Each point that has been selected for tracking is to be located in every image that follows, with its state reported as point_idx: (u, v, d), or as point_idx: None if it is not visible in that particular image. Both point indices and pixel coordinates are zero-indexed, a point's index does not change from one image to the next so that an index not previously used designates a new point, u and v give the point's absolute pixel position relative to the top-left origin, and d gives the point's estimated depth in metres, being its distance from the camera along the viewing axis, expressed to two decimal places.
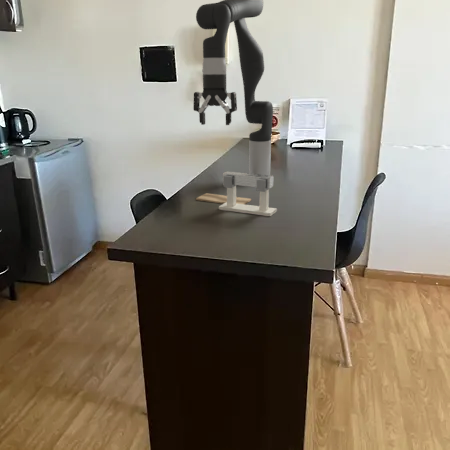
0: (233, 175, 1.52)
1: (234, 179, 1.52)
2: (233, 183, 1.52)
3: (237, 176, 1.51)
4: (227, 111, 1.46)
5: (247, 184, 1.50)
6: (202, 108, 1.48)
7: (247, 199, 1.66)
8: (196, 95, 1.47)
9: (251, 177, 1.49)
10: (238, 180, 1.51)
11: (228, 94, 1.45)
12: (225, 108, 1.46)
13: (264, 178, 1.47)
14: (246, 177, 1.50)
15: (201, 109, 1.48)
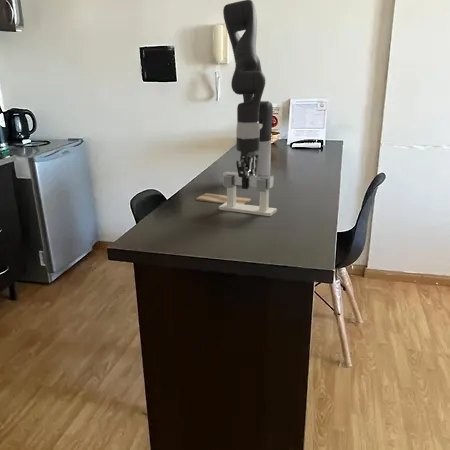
0: (233, 175, 1.52)
1: (234, 179, 1.52)
2: (233, 183, 1.52)
3: (237, 176, 1.51)
4: (253, 173, 1.53)
5: None
6: (248, 172, 1.48)
7: (247, 199, 1.66)
8: (244, 163, 1.44)
9: (251, 177, 1.49)
10: (238, 180, 1.51)
11: (254, 155, 1.53)
12: (253, 170, 1.52)
13: (264, 178, 1.47)
14: None
15: (248, 174, 1.48)
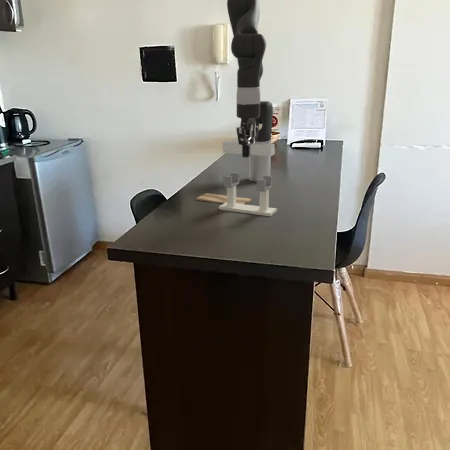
0: (233, 143, 1.48)
1: (234, 148, 1.48)
2: (233, 152, 1.49)
3: (237, 144, 1.48)
4: (254, 141, 1.49)
5: None
6: (249, 140, 1.45)
7: (247, 199, 1.66)
8: (244, 130, 1.41)
9: (252, 145, 1.45)
10: (238, 148, 1.48)
11: None
12: (254, 138, 1.49)
13: (265, 145, 1.44)
14: None
15: (248, 141, 1.45)
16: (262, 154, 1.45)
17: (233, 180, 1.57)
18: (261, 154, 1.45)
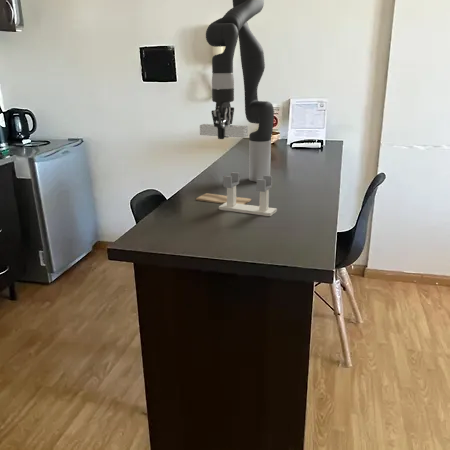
0: (209, 126, 1.59)
1: (211, 130, 1.59)
2: (210, 134, 1.60)
3: (213, 127, 1.58)
4: (229, 124, 1.60)
5: None
6: (223, 123, 1.56)
7: (247, 199, 1.66)
8: (219, 113, 1.52)
9: (226, 127, 1.56)
10: (214, 131, 1.59)
11: (230, 107, 1.60)
12: (229, 121, 1.59)
13: (238, 127, 1.54)
14: None
15: (223, 124, 1.56)
16: (236, 136, 1.56)
17: (233, 180, 1.57)
18: (235, 136, 1.56)
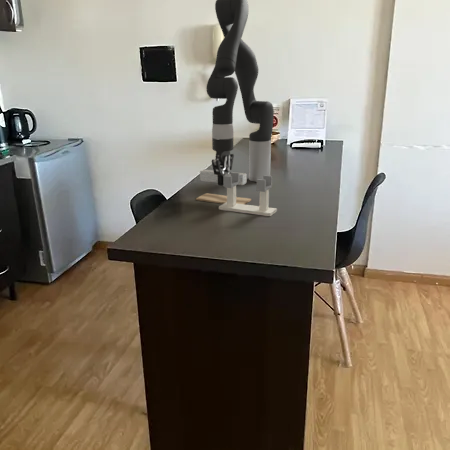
0: (210, 173, 1.64)
1: (211, 176, 1.65)
2: (210, 180, 1.65)
3: (213, 174, 1.64)
4: (229, 171, 1.65)
5: None
6: (223, 170, 1.61)
7: (247, 199, 1.66)
8: (218, 162, 1.57)
9: (226, 174, 1.62)
10: (214, 177, 1.64)
11: (229, 154, 1.66)
12: (228, 168, 1.65)
13: None
14: None
15: (223, 172, 1.61)
16: None
17: (233, 180, 1.57)
18: None
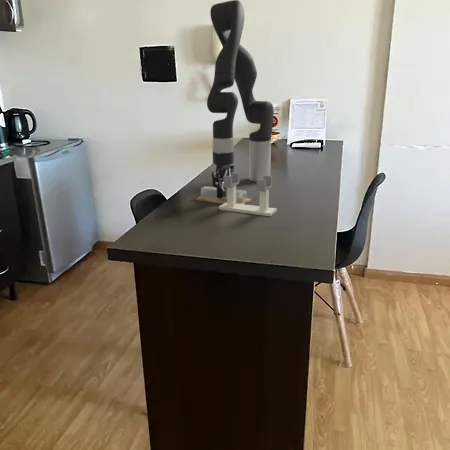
0: (210, 190, 1.66)
1: (211, 193, 1.67)
2: (210, 197, 1.67)
3: (214, 191, 1.66)
4: None
5: (223, 198, 1.65)
6: (222, 183, 1.62)
7: (247, 199, 1.66)
8: (219, 174, 1.58)
9: (226, 192, 1.64)
10: (214, 194, 1.66)
11: (230, 167, 1.67)
12: None
13: (237, 193, 1.62)
14: None
15: (222, 185, 1.62)
16: None
17: (233, 180, 1.57)
18: None
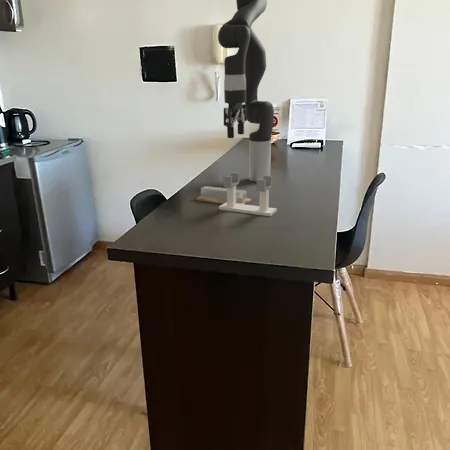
0: (210, 190, 1.66)
1: (211, 193, 1.67)
2: (210, 197, 1.67)
3: (214, 191, 1.66)
4: (244, 121, 1.62)
5: (223, 198, 1.65)
6: (233, 122, 1.55)
7: (247, 199, 1.66)
8: (231, 110, 1.52)
9: (226, 192, 1.64)
10: (214, 194, 1.66)
11: None
12: (243, 119, 1.62)
13: (237, 193, 1.62)
14: (222, 192, 1.65)
15: (233, 123, 1.55)
16: None
17: (233, 180, 1.57)
18: None
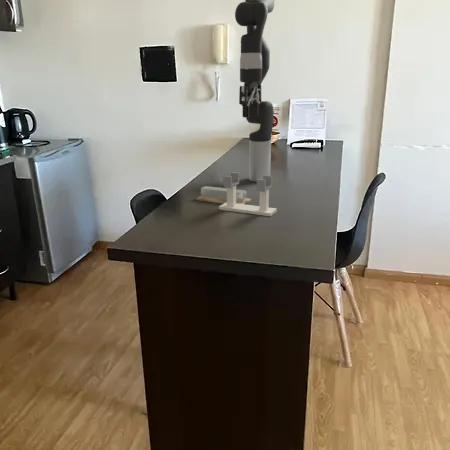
0: (210, 190, 1.66)
1: (211, 193, 1.67)
2: (210, 197, 1.67)
3: (214, 191, 1.66)
4: (258, 102, 1.61)
5: (223, 198, 1.65)
6: (249, 101, 1.54)
7: (247, 199, 1.66)
8: (247, 89, 1.51)
9: (226, 192, 1.64)
10: (214, 194, 1.66)
11: None
12: (258, 99, 1.60)
13: (237, 193, 1.62)
14: (222, 192, 1.65)
15: (249, 102, 1.53)
16: None
17: (233, 180, 1.57)
18: None
